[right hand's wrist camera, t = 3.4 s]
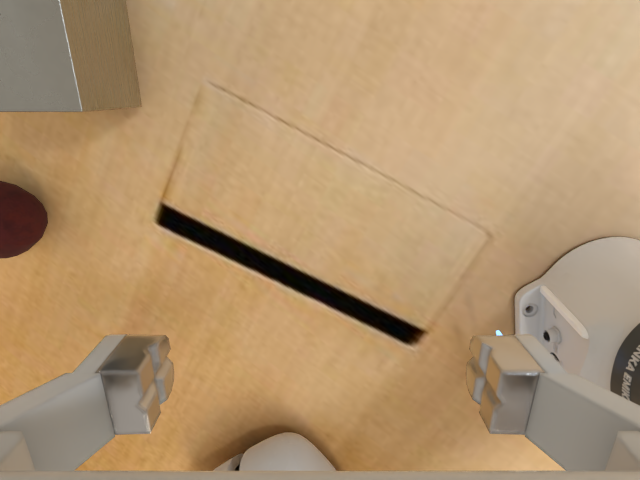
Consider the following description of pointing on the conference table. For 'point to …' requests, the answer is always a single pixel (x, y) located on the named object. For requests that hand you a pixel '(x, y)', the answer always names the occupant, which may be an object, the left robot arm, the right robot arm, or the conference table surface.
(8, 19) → the box
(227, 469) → the white slotted rounded block
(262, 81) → the conference table surface
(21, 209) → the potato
